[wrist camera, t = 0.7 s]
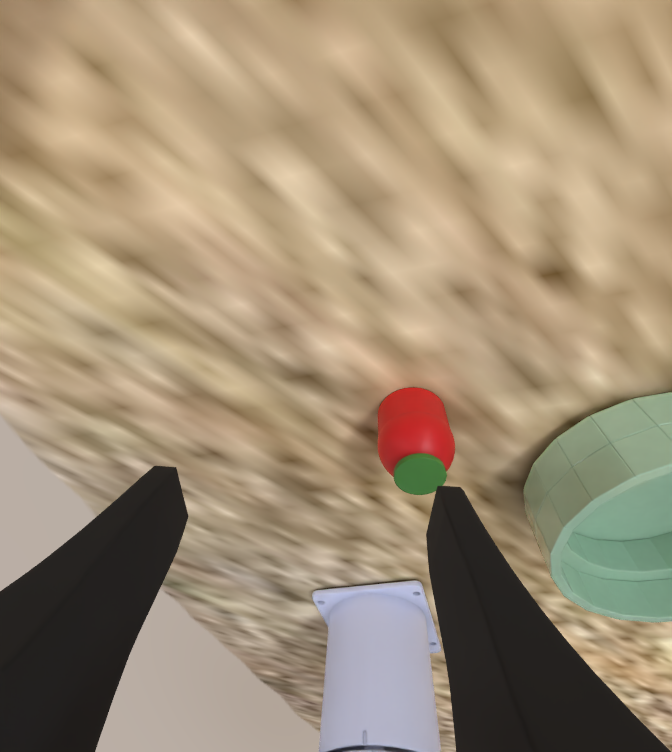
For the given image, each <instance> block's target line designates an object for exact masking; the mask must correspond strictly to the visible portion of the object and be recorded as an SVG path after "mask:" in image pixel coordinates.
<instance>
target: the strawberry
mask: <svg viewBox="0 0 672 752" xmlns="http://www.w3.org/2000/svg"><path fill="white" fill-rule="evenodd" d="M378 453H379V457H380V460H381V462H382V464H383V466H384V467H385V469H386V470H387V471H388V472H389V473H390V474H391V475H392V476H393V477H394V481H395V483H396V485H397V486H398V487H399V488H400V489H401V490H403V491H404V492H407V493H410V494H414V495H425V494H429V493H432V492H434V491H436V490H437V486H443V484H444V483H445V481H446V477H447V474H446V471H447V470H448V469H449V467H450V466H451V463H452V461H453V458H454V454H455V442H454V438H453V434H452V432H451V430H450V427H449V423H448V419H447V416H446V412H445V408H444V405H443V403H442V401H441V400H440V399H439V398H438V397H437V396H436V395H435V394H434V393H432V392H430V391H428V390H425V389H422V388H404V389H400V390H397V391H395V392H393V393H391V394H390V395H389V396H387V397H386V398H385V399H384V401H383V402H382V403H381V405H380V407H379V410H378Z"/></svg>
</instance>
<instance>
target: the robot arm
mask: <svg viewBox="0 0 672 752" xmlns="http://www.w3.org/2000/svg"><path fill="white" fill-rule="evenodd" d="M187 519H188V513H187V509H186V505H185V501H184V497H183V493H182V489H181V485H180V481H179V477H178V473H177V469H176V467H163V466H154V467H153V468H152V469H151V470H149V471H148V472H147V473H146V474H145V475H144V476H142V477H141V478H140V479H139V480H138V481H137V482H136V483H135V484H133V485H132V486H131V487H130V488H129V489H128V490H127V491H126V492H124V493H123V494H122V495H121V496H120V497H119V498H118V499H117V500H115V501H114V502H113V503H112V504H111V505H110V506H109V507H108V508H106V509H105V510H104V511H103V512H102V513H101V514H99V515H98V516H97V517H96V518H95V519H94V520H92V521H91V522H90V523H89V524H88V525H87V526H85V527H84V528H83V529H82V530H81V531H79V532H78V533H77V534H76V535H75V536H73V537H72V538H71V539H70V540H68V541H67V542H66V543H65V544H63V545H62V546H61V547H60V548H58V549H57V550H56V551H55V552H53V553H52V554H51V555H50V556H48V557H47V558H46V559H44V560H43V561H42V562H41V563H39V564H38V565H37V566H35V567H34V568H33V569H31V570H30V571H29V572H27V573H26V574H24V575H23V576H22V577H20V578H19V579H18V580H16V581H15V582H13V583H12V584H10V585H9V586H8V587H6V588H5V589H3V590H2V591H0V752H95V750H96V747H97V744H98V741H99V738H100V735H101V732H102V729H103V726H104V724H105V721H106V718H107V715H108V712H109V709H110V706H111V703H112V700H113V697H114V695H115V692H116V689H117V687H118V684H119V681H120V679H121V676H122V673H123V670H124V668H125V665H126V662H127V660H128V657H129V654H130V652H131V650H132V647H133V645H134V643H135V640H136V638H137V636H138V633H139V631H140V629H141V627H142V625H143V623H144V621H145V619H146V616H147V615H148V612H149V610H150V608H151V606H152V604H153V602H154V600H155V598H156V596H157V593H158V591H159V589H160V587H161V585H162V583H163V581H164V579H165V576H166V574H167V572H168V570H169V568H170V566H171V563H172V561H173V559H174V557H175V555H176V552H177V549H178V547H179V544H180V541H181V538H182V535H183V532H184V529H185V526H186V522H187ZM426 536H427V550H428V562H429V573H430V579H431V584H432V590H433V595H434V600H435V606H436V611H437V616H438V622H439V627H440V632H441V637H442V643H443V648H444V653H445V659H446V664H447V671H448V677H449V684H450V693H451V703H452V712H453V722H454V731H455V742H456V752H671V751H670V750H669V749H668V748H667V747H666V746H665V745H664V744H663V743H662V742H661V741H660V740H659V739H658V738H657V737H656V736H655V735H654V734H653V733H652V732H651V731H650V730H649V729H648V728H647V727H646V726H645V725H644V724H643V723H642V722H641V721H640V720H639V719H638V718H637V717H636V716H635V715H634V714H633V713H632V712H631V711H630V710H629V709H628V708H627V707H626V706H625V704H624V703H623V702H622V701H621V700H620V699H619V698H618V697H617V696H616V695H615V694H614V693H613V692H612V691H611V690H610V689H609V687H608V686H607V685H606V684H605V683H604V682H603V681H602V680H601V679H600V678H599V677H598V676H597V675H596V674H595V673H594V671H593V670H592V669H591V668H590V667H589V666H588V665H587V664H586V662H585V661H584V660H583V659H582V658H581V657H580V656H579V654H578V653H577V652H576V651H575V650H574V649H573V647H572V646H571V645H570V644H569V643H568V642H567V640H566V639H565V638H564V637H563V636H562V634H561V633H560V632H559V631H558V629H557V628H556V627H555V626H554V625H553V623H552V622H551V621H550V620H549V618H548V617H547V616H546V615H545V613H544V612H543V611H542V609H541V608H540V607H539V606H538V604H537V603H536V602H535V600H534V599H533V598H532V596H531V595H530V593H529V592H528V591H527V589H526V588H525V587H524V585H523V584H522V583H521V581H520V580H519V578H518V577H517V576H516V574H515V573H514V571H513V570H512V568H511V567H510V565H509V564H508V562H507V561H506V559H505V558H504V556H503V555H502V554H501V552H500V551H499V549H498V548H497V546H496V545H495V543H494V541H493V540H492V538H491V537H490V535H489V533H488V532H487V530H486V529H485V527H484V525H483V524H482V522H481V520H480V519H479V517H478V515H477V514H476V512H475V510H474V509H473V507H472V505H471V503H470V501H469V500H468V498H467V496H466V494H465V492H464V491H463V490H462V489H461V487H450V486H437V490H436V494H435V499H434V503H433V507H432V512H431V516H430V521H429V525H428V530H427V534H426ZM312 599H313V601H314V603H315V604H316V606H317V608H318V610H319V612H320V613H321V615H322V617H323V619H324V621H325V622H326V624H327V626H328V628H329V629H328V642H327V654H326V667H325V680H324V692H323V705H322V718H321V731H320V743H319V752H441V746H440V737H439V729H438V720H437V711H436V703H435V694H434V685H433V677H432V668H431V659H430V653H438V652H440V651H441V645H440V641H439V638H438V635H437V632H436V628H435V625H434V622H433V619H432V615H431V612H430V609H429V606H428V602H427V599H426V596H425V593H424V589H423V586H422V584H421V582H419V581H416V580H413V581H403V582H393V583H383V584H373V585H363V586H353V587H344V588H334V589H324V590H316V591H314V592H313V594H312Z"/></svg>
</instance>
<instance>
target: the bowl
mask: <svg viewBox="0 0 672 752" xmlns="http://www.w3.org/2000/svg"><path fill="white" fill-rule="evenodd" d="M523 492H524V505H525V513H526V516H527V518H528V521H529V523H530V526H531V528H532V531H533V533H534V536H535V538H536V541H537V543H538V546H539V548H540V551H541V553H542V556H543V558H544V561H545V563H546V566H547V568H548V571H549V573H550V576H551V578H552V579H553V581H554V582H555V584H556V585H557V587H558V588H559V590H560V591H561V593H562V594H563V595H564V596H565V597H566V598H568V599H569V600H571V601H572V602H574V603H576V604H577V605H579V606H580V607H582V608H584V609H585V610H587V611H590V612H594V613H597V614H601V615H604V616H608V617H611V618H614V619H619V620H630V621H642V622H670V621H672V392H667V393H662V394H656V395H650V396H644V397H639V398H633V399H630V400H627V401H625V402H622V403H620V404H617V405H615V406H612V407H610V408H607V409H605V410H602V411H600V412H597V413H594V414H592V415H590V416H588V417H586V418H585V419H583V420H582V421H580V422H579V423H577V424H576V425H574V426H573V427H571V428H570V429H568V430H567V431H566V432H564V433H563V434H561V435H560V436H558V437H557V438H556V439H554V440H553V441H552V443H551V444H550V445H549V446H548V447H547V448H546V449H545V451H544V452H543V453H542V454H541V455H540V456H539V457H538V459H537V460H536V461H535V462H534V464H533V466H532V468H531V471H530V473H529V476H528V478H527V481H526V483H525V486H524V491H523Z"/></svg>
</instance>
